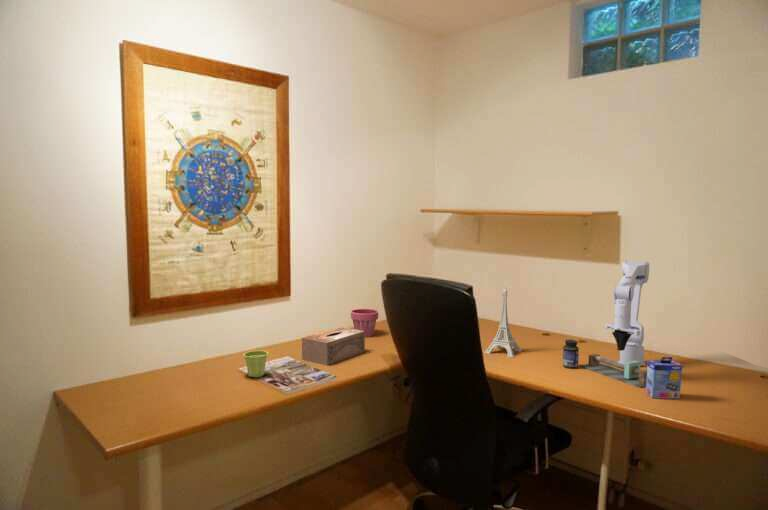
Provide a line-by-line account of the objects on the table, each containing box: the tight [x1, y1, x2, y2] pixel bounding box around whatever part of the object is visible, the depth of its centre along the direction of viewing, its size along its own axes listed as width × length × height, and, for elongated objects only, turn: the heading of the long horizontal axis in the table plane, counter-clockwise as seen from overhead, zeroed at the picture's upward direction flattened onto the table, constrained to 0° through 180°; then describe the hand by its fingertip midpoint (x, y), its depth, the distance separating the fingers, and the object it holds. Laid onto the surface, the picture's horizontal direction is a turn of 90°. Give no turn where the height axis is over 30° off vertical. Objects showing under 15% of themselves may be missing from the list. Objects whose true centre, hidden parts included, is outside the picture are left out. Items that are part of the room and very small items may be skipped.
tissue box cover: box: [301, 326, 366, 366], centre depth 227 cm, size 26×14×10 cm, turn 145°
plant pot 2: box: [350, 308, 379, 338], centre depth 265 cm, size 14×14×13 cm
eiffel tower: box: [484, 287, 523, 358], centre depth 234 cm, size 13×13×30 cm
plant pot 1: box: [243, 350, 269, 378], centre depth 200 cm, size 9×9×9 cm
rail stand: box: [580, 353, 647, 389], centre depth 202 cm, size 28×10×5 cm, turn 25°
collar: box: [623, 360, 641, 379], centre depth 196 cm, size 2×6×6 cm, turn 115°
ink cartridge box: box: [645, 356, 683, 400], centre depth 179 cm, size 10×6×14 cm, turn 90°
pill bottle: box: [562, 339, 580, 370], centre depth 212 cm, size 6×6×11 cm
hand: (621, 349), depth 200 cm, fingers closed
